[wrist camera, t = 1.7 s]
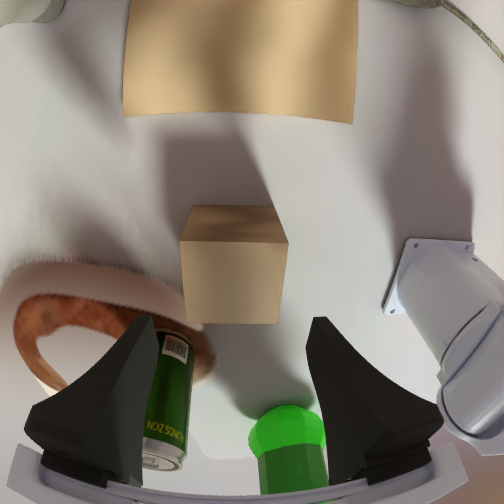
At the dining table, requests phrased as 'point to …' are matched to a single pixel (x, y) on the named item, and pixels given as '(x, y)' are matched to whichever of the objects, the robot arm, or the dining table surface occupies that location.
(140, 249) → the dining table surface
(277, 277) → the tan cube
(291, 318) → the dining table surface
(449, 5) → the soupspoon
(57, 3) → the lightbulb
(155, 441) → the beer can
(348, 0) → the oak board
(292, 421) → the plastic bottle
